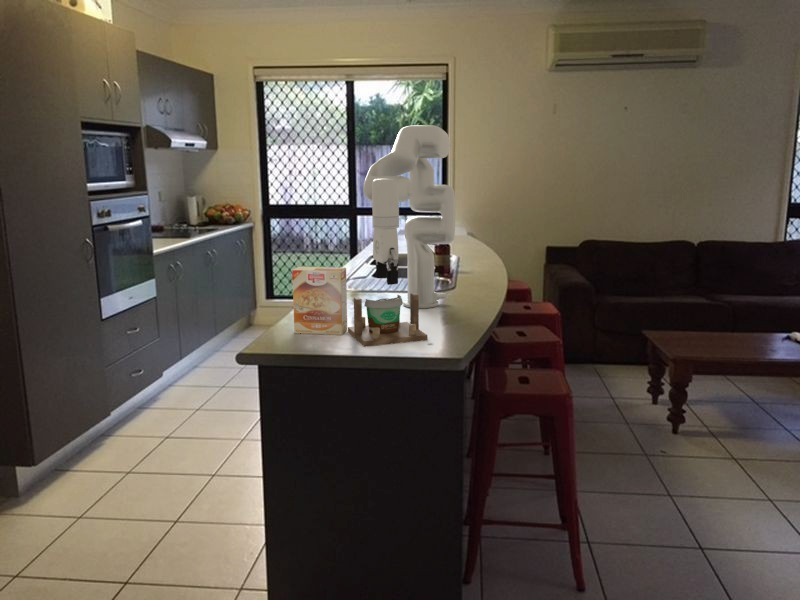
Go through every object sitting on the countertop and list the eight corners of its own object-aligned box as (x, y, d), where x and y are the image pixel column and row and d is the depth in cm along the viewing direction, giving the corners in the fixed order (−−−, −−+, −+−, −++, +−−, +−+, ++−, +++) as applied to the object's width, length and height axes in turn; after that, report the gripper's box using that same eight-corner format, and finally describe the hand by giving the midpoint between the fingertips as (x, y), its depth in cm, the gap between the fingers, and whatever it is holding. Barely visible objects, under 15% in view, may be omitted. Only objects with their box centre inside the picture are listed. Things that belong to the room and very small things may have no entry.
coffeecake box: (293, 333, 199) (291, 269, 195) (300, 327, 206) (298, 265, 202) (342, 335, 197) (340, 270, 193) (347, 329, 204) (346, 266, 200)
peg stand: (406, 326, 207) (406, 288, 205) (427, 340, 191) (427, 299, 189) (348, 332, 201) (347, 293, 198) (364, 346, 185) (363, 304, 183)
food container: (376, 337, 189) (375, 303, 187) (364, 332, 194) (364, 299, 192) (411, 330, 196) (411, 297, 194) (399, 326, 201) (399, 294, 199)
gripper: (364, 219, 196) (366, 276, 200) (382, 226, 180) (384, 288, 184) (388, 218, 198) (389, 274, 202) (408, 225, 183) (409, 285, 187)
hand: (387, 280), depth 193 cm, fingers open, 9 cm apart
